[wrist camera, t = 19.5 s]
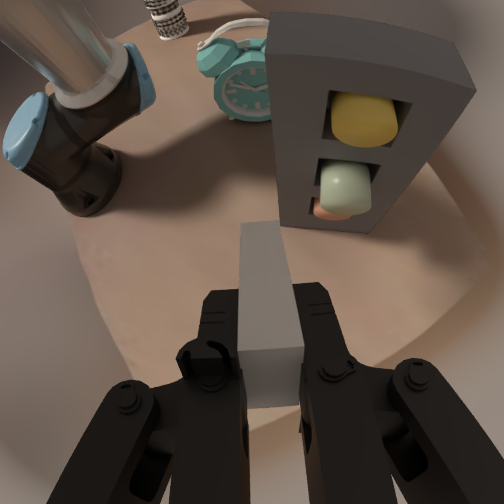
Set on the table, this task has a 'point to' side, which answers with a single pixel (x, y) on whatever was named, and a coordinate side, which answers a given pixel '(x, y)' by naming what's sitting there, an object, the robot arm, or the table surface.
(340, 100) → the mustard button
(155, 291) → the table surface
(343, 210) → the sage button
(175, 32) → the leaning tower model
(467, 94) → the button panel
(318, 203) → the terracotta button
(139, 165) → the table surface
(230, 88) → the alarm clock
